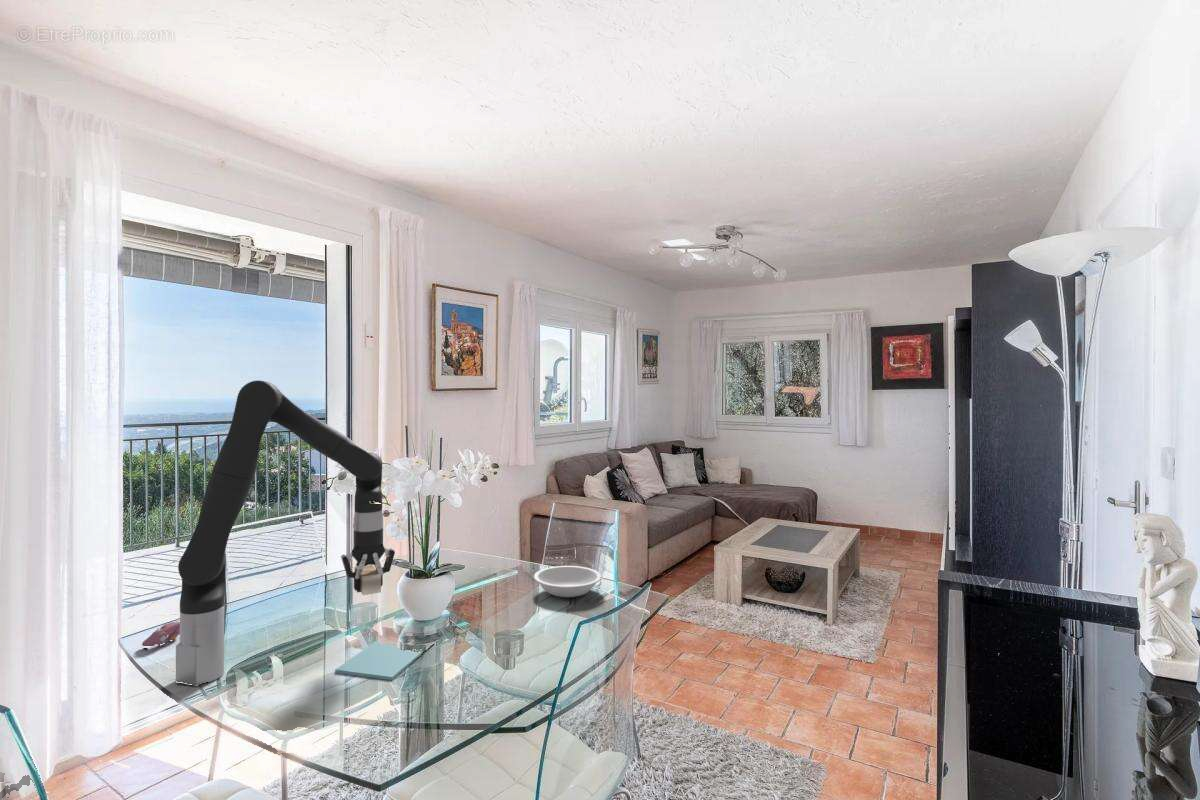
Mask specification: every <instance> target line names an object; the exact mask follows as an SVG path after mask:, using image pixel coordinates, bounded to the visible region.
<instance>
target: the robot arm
mask: <svg viewBox="0 0 1200 800" xmlns="http://www.w3.org/2000/svg"><path fill="white" fill-rule="evenodd" d="M269 421H271V422H272V423H275V424H277V425H278V426H279V425H280V426H281V427H283V428H285V429H286V430H288V431H289V432H291V433H293V434H294V435H295V436H297V437H298V438H300V440H302V441H303V442H305V443H306V444H307V445H309V447H312V449H314V450H315V451H317V452H318V453H320V454H322V455H323V456H325V457H326V458H328V459H329V460H332V461H333V462H336V463H337V464H339V465H340V466H341V467H342V468H343V469H345V470H346V471H348V472H349V473H351V474H352V475H353V476H355V492H354V513H353V514H354V515H353V523H352V528H353V529H352V530H353V541H352V542H353V548H352V551H351V552H350V553H347V554H342V555H340V558H341V562H342V565H343V568H344V571H345V574H346V575H347V577H348V578H351V579H353V589H354V591H356V593H361V592H360V575H361V572H362V570H363V568H364V566H368V565H372V566H373V567H374V568H375V569H376V570H377V572H378V573H379V574H380V575H381V587H382V586H383V584H384V583H383V582H384V581H383V579H384V578H383V575H384V574H386V573H389V572H390V571H391V568H392V564H393V561H394V557H395V553H396V551H395V550H394V549H393V548H385V546H384V514H383V493H382V492H383V491H382V482H383V461H382V458H381V457H380V456H379V455H378V454H377V453H374V452H368V451H367V450H365V449H364V448H362V447H361V446H358V445H357V444H355V442H354V441H353V440H352V439H351V438H349V437H347V435H344V434H343V433H342V432H340V431H339V430H337V429H336V428H334V427H332V426H331V425H329V424H327V423H325V422H323V421H322V420H320V419H318V418H316V417H314V416H313V415H312V414H310V413H308V412H306V411H305V410H303V408H301V407H300V406H298V405H297V404H295V403H294V402H293V401H292V400H291V399H289V398H288V396H286V395H285V394H284V393H283V392H282V391H281V390H280V389H279V388H278V387H277V386H276V385H275V384H273V383H271V382H269V381H264V380H252V381H250V382H247V383H245V384H244V385H243V386H242V387H241V388H240V390H239V391H238V394H237V396H236V401H235V407H234V411H233V416H232V419H231V423H230V427H229V431H228V433H227V435H226V437H225V439H224V442H223V443H222V445H221V448H220V451H219V454H218V455H217V458H216V460H215V463H214V466H213V468H212V470H211V473H210V476H209V479H208V481H207V484H206V487H205V491H204V495H203V498H202V503H201V507H200V512H199V515H198V519H197V524H196V526H195V528H194V531H193V534H192V535H191V538H190V540H189V542H188V544H187V546H186V548H185V551H184V552H183V554H182V556H181V557H180V558H179V561H178V565H177V566H178V567H177V569H178V570H177V571H178V574H179V576H180V578H181V593H180V598H179V599H180V600H179V622H180V634H179V643H177V644H176V645H175V682H176V681H177V682H183V683H187V684H192V685H198V684H200V683H204V684H206V682H208V683H210V682H213V681H215V680H217V679H219V678H221V677H222V676H223V675H224V673H225V595H226V586H227V585H226V576H227V572H226V571H227V569H226V568H227V555H226V549H227V545H228V541H229V537H230V534H231V531H232V529H233V526H234V524H235V522H236V521H237V519H238V517H239V515H240V512H241V511H242V509H243V507H244V504H245V502H246V500H247V498H248V496H249V492H250V491H251V489H252V488H251V487H252V484H253V481H254V479H255V477H256V476H255V475H256V472H257V467H258V464H259V463H258V462H259V456H260V448H261V442H262V438H263V436H264V433H265V430H266V429H267V426H268V423H269ZM369 501H371V503H374V502H373V501H375V502H379V503H381V504H370V503H369ZM383 555H385V556H384V557H385V559H384V560H385V561H384V563H383V567H382V564H381V561H380V559H381V558H382V556H383ZM352 558H354V560H355V561H356V564H355V567H354V571H352V568H351V565H350V563H351V562H352Z"/></svg>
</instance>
